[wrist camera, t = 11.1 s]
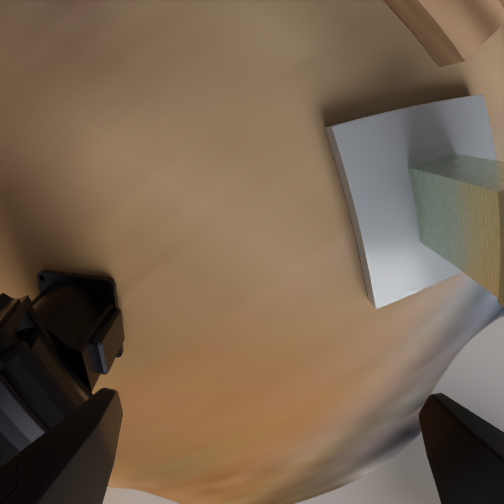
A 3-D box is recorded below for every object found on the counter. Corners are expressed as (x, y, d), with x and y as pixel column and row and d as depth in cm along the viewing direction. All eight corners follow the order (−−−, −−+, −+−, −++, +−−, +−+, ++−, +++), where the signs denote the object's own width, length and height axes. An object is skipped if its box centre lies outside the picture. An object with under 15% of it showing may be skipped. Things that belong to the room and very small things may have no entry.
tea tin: (420, 244, 19) (510, 312, 10) (406, 166, 17) (514, 197, 8) (466, 225, 18) (559, 277, 10) (456, 151, 16) (563, 174, 8)
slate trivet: (368, 298, 21) (376, 309, 20) (324, 127, 17) (331, 126, 16) (491, 244, 20) (502, 251, 19) (470, 95, 16) (483, 94, 15)
